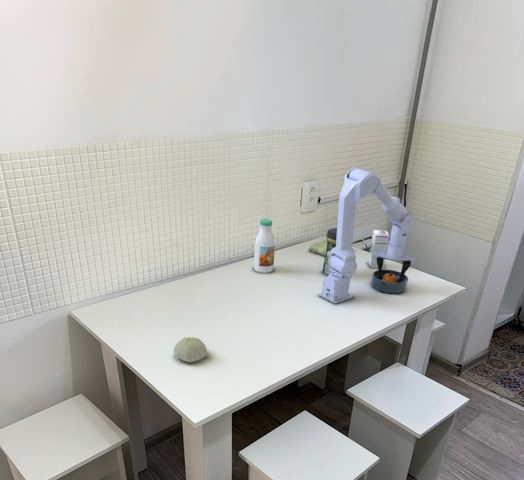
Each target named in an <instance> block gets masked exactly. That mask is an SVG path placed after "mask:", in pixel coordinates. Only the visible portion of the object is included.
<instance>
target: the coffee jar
mask: <svg viewBox="0 0 524 480" xmlns="http://www.w3.org/2000/svg"><path fill="white" fill-rule="evenodd" d="M336 238H337V227H335V228H329V229H327V233H326V238H325V240H326V239H327V249H326V255H325V256H324V259H323V266H322V273H323V274H324V275H325V276H329V275H330V273H331V271H330V267H329V265H328V259H329V256H330V254H331V249H333V248H334V247H336Z"/></svg>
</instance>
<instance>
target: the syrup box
mask: <svg viewBox="0 0 524 480" xmlns="http://www.w3.org/2000/svg"><path fill="white" fill-rule="evenodd" d="M389 240H390V234H389V232H388V230H383V229H373V232H372V237H371V243H370V249H369V256H368V265H369V267H370V268H371V269H378V265H377V259H374V254H375V252H387V251H388V246H389ZM385 261H386V259H383V267H382V269H385V268H384V267H385Z"/></svg>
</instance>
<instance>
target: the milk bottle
mask: <svg viewBox="0 0 524 480" xmlns="http://www.w3.org/2000/svg"><path fill="white" fill-rule="evenodd" d="M259 227H260V228H259V231H258V233H257V235H256V237H255V241H254V258H253V261H254V262H253V269H254V271H255V272H258V273H261V274H268V273H271V272H273V270H274V265H275V264H274V263H275V248H276V247H275V246H276V243H275V242H276V241H275V236H274V234H273V231H272V227H273V220H272V219H271V218H262V219H260V220H259Z"/></svg>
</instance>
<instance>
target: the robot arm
mask: <svg viewBox="0 0 524 480" xmlns="http://www.w3.org/2000/svg"><path fill="white" fill-rule="evenodd" d="M372 193H373V195H374V196H376V198H377V199H378V200H379V202H381V203H382V206H381V208H382V210H383V212H384V213H385V214H386V215H387V216H388V218H389V223H390V224H392V226H391V232H390V235H389V240H388V245H387V251H386V252H375V254H374V259H377V265H378V268H377V270H379V278H381V272H382V269H383V268H382V267H383V259H385V261H387V260H388V261H395V262H402V265H401V270H400V272H401V273H400V277H399V281H401V280H402V277H403V276H404V274H405V275H406V273H407V271H408V270H409V269H410V267H411V265H413V264H415V260H416V257H415V256H412V255H407V254H404V252H405V246H406V244H407V243H406V242H407V237H408V234H409V233H410V230H411V228H412V227H413V225H414V222H415V220H414V216H413V214H412V213H411V212H408V211H407V207H406V206H404V205H403V204H402V203H401V199H400V197H397V196H392V195H391V193H389V191H388V190H387V188H386V187H385V185H384V184H383V182H382V179H381V178H380V177H379V176H378V175H377V174H376V173H375V172H370V171H367V170H364V169H362V168H360V167H357V166H355V167H352V168H350V169H349V171H347V173H346V174H345V175H344V176H343V185H342V188H341V190H340V192H339V195H338V196H339V197H338V210H337V224H336V225H337V227H336V228H337V238H336V247H334V248H333V249H331V254H330V256H329V259H328V265H329V267H330V271H331V273H330V275H329V276H328V275H326V277H324V278H323V281H322V288H321V293H320V294H319V297H321V298H323V299H325V300H327V301H330V302H331V303H333V304H338V303H341V302H344V301H347V300H349V299H352V298H353V297H354V296H353V295H351V294H349V291H350V284H351V278H352V277H353V275H354V274H355V273H356V271H357V269H358V263H357V261H356V256H357V255H356V254H355V252H354V250H353V242H354V240H353V239H354V228H355V220H356V219H355V218H356V208H357V207H356V206H357V203H358V202H359V201H360V200H363V199H364V198H366V197H367V196H370V194H372Z"/></svg>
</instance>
